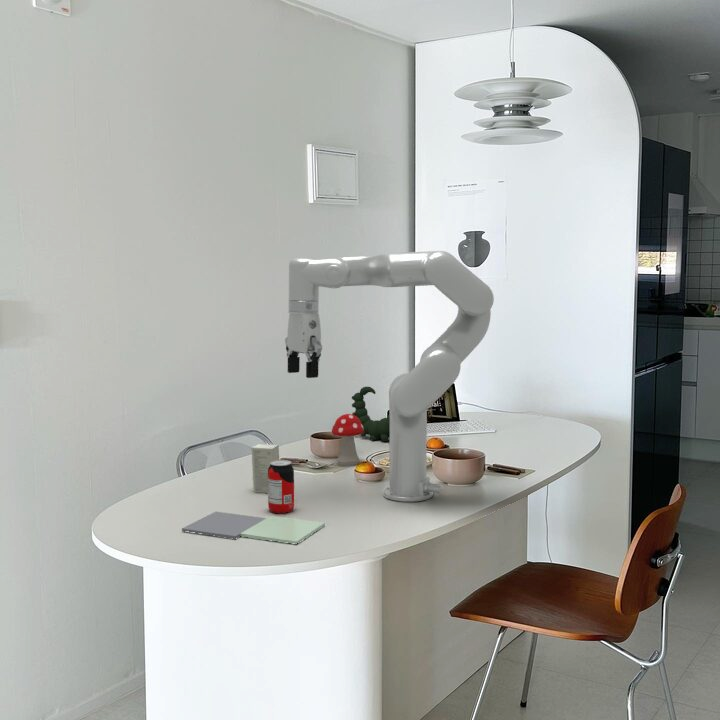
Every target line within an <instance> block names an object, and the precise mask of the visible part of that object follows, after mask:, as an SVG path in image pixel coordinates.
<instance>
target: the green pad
mask: <svg viewBox="0 0 720 720" xmlns="http://www.w3.org/2000/svg"><path fill="white" fill-rule="evenodd" d="M265 518H266V519H265V520H263V521H261V522H259V523H258V524H256V525H254V526H252V527H251V528H249V529H247V530H245V531H244V532H242V533H240V536H241V537H240V538H244V537H248V538H247V539H251V538H255V539H254V540H258V539H263V540H262V541H265V540H272V541H280V542H288V543H295V544H297V543H299V542H300V541H302V540H303V539H305V538H306V539H308V538H309V537H311V536H312V535H314V534H315V533H317V532H318V531H319V529H320V528H321V529H322V527H323V526H324V527H325V525H326V523H325V522H320V521H313V520H305V519H298V518H289V517H282V516H276V515H275V516H274V515H270V516H269V517H265ZM324 527H323V528H324ZM321 529H320V530H321ZM317 530H318V531H317ZM316 531H317V532H316ZM314 532H315V533H314ZM313 533H314V534H313ZM311 534H312V535H311ZM310 535H311V536H310ZM308 536H309V537H308ZM307 537H308V538H307ZM306 539H305V540H306ZM272 541H271V542H272ZM303 541H304V540H303ZM303 541H302V542H303ZM299 544H300V543H299Z"/></svg>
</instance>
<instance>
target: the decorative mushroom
mask: <svg viewBox="0 0 720 720" xmlns="http://www.w3.org/2000/svg"><path fill="white" fill-rule="evenodd" d="M362 433H364V428H363V425H362V423H361V421H360V420H359V418H358V417H356V416H355V415H352V413H345V414H342V415H341V416H339V417H338V418H337V419H336V420H335V422H334V424H333V425H332V429H331V434H332V435H333V436H336V437H340V438H341V442H340V448H339V449H340V450H339V453H338V457H337V458H336V462H337V464H338V466H341V467H350V466H355V465H358V464H359V460H360V458H359V456H358V452H357V448H356V443H355V437H357V436H361V434H362ZM357 463H358V464H357Z"/></svg>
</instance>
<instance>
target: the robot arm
mask: <svg viewBox="0 0 720 720" xmlns="http://www.w3.org/2000/svg"><path fill="white" fill-rule="evenodd" d="M288 264H289V265H288V314H289V315H288V324H287V337H286V338H285V339H284V344H285V346H286V347H285V350H286V352H287V353H286V357H287V373H289V374H292V373H293V374H294V373H297V374H298V373H299V372H300V364H301V363H300V360H301V358H300V356H299V354H305V357H306V359H307V361H306V362H305V363H306V364H305V365H306V367H305V377H306V378H307V379H313V378H315V379H316V378H319V362H320V358H321V356H322V350H323V345H322V331H321V329H322V328H321V322H320V321H321V320H320V315H319V307H320V305H319V301H320V299H319V297H320V288H321V287H322V288H327V289H340V288H342V287H354V286H355V287H356V286H361V287H362V286H373V287H375V286H377V287H383V288H402V287H424V286H425V287H426V286H433V287H435V288H436V289H437V290H438V291H439V292H440V293H442V295H444V296H445V297H447V299H449V300H450V301H451V302H452V303H453V304H454V305H456V306H457V314H456V316H455V319H454V320H453V322H452V323H451V324H450V325H449V326H448V327H447V328H446V330H445V331H444V332H443V333H442V334H441V335H440V336H439V337H438V338H437V339H436V340H435V341H434V342H432V344H431V345H429V347H426V349H425V350H424V351H423V352H422V354H421V356H420V359H419V362H417V364H416V365H415V367H413V368H412V370H410V371H409V372H408V373H406V372H405V373H402V374H400V375H398V376H396V377H395V378H394V379H393V380H392V382H391V383H390V386H389V389H388V404H389V405H388V406H389V409H388V411H389V414H390V438H389V486H387V487H386V488H384V489H383V496H384V497H385V498H386V499H388V500H391V501H395V502H408V503H409V502H411V503H413V502H422V501H425V500H429V499H430V498H431V499H432V497H433V494H441V493H442V490H443V488H442V485H441V484H440V483H434V482H433V483H432V481H431V478H430V477H428V476H427V445H428V444H427V436H428V428H427V427H428V423H427V421H428V418H427V417H428V415H427V410H429V408H431V406H432V405H433V404H435V403H436V401H438V399H439V398H441V397H442V396H443V394H444V393H445V392H446V391H447V390H449V388H451V386H452V385H453V384H454V383H455V382H456V380H457V379H458V378H459V375H460V373H461V364H462V363H463V362H464V361H465V360H466V359H467V357H469V355H471V353H472V352H473V351H474V350H475V349H476V348H477V347H478V346H479V344H480V343H481V342H482V340H483V339H484V338H485V336H486V335H487V332H488V329H489V326H490V323H491V315H492V311H491V309H492V308H493V306H494V302H495V301H494V300H495V297H494V293H493V290H492V289H491V288H490V286H489V285H488V284H487V283H485V282H484V281H483V280H482V279H481V278H479V277H478V276H477V275H476V274H475V273H474V272H472V271H471V270H470V269H469V268H467V266H465V265H464V264H463V263H462V262H461V261H460V260H458V259H457V258H456V257H455V256H454V255H453V254H452V253H450V252H448V251H444V250H434V251H433V250H430V251H408V252H407V251H406V252H388V253H387V252H386V253H382V254H376V255H369V256H368V255H367V256H350V257H349V256H348V257H330V258H324V259H316V258H313V257H311V258H309V257H294V258H292V259H290V260H289V263H288ZM389 414H388V415H389Z"/></svg>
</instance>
